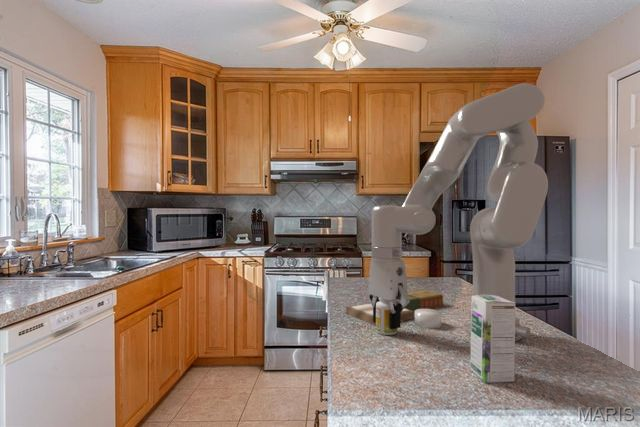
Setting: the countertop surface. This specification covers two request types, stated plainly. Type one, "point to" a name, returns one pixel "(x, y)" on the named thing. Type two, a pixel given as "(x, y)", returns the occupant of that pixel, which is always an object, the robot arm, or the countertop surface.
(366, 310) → the tray
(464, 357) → the countertop surface
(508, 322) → the syrup box
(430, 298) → the carton
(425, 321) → the white glossy dome
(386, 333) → the supplement bottle
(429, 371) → the countertop surface
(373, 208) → the robot arm
